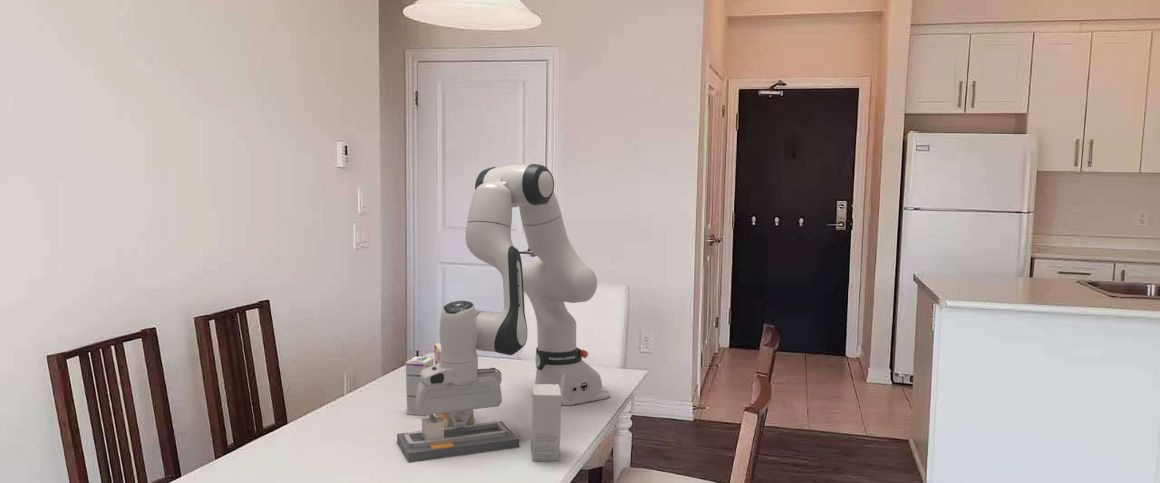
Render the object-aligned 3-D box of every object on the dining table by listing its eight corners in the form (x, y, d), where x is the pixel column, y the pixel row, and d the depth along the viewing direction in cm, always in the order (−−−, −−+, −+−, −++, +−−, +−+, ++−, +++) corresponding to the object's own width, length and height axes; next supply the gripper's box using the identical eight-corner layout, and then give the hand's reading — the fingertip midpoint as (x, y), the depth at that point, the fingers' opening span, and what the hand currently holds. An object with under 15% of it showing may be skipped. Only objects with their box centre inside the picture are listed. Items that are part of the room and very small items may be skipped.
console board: (501, 428, 199) (501, 417, 199) (519, 447, 186) (519, 434, 186) (397, 441, 189) (396, 429, 188) (408, 462, 176) (408, 449, 176)
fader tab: (438, 434, 188) (438, 413, 187) (443, 440, 183) (443, 419, 183) (422, 436, 186) (421, 415, 186) (426, 443, 182) (426, 421, 181)
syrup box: (426, 416, 209) (426, 362, 207) (405, 414, 210) (405, 360, 208) (435, 409, 214) (434, 356, 213) (414, 408, 215) (414, 355, 214)
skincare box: (531, 448, 185) (531, 383, 184) (559, 448, 186) (559, 383, 184) (531, 462, 177) (532, 393, 175) (561, 461, 177) (562, 393, 176)
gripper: (497, 363, 193) (497, 419, 194) (413, 371, 185) (414, 429, 187) (505, 370, 187) (505, 426, 189) (418, 378, 179) (419, 437, 181)
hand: (459, 428), depth 188 cm, fingers closed
